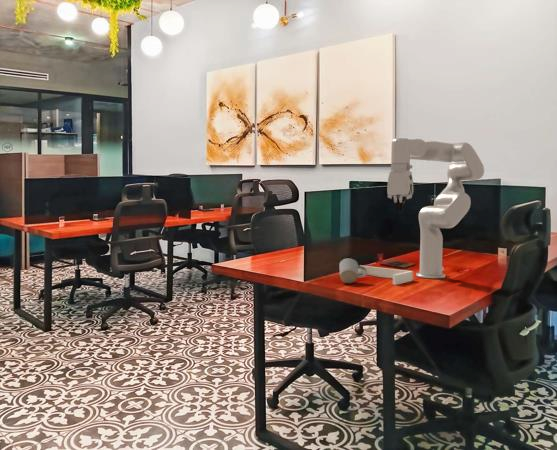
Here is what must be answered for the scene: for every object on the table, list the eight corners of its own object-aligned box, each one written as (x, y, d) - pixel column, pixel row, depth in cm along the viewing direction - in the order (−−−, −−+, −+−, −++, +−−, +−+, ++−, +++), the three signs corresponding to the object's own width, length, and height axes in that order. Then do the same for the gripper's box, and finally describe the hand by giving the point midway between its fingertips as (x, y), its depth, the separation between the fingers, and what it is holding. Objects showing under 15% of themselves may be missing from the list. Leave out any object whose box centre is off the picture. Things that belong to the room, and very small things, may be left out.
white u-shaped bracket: (359, 274, 234) (360, 265, 234) (413, 280, 216) (413, 271, 216) (340, 277, 222) (340, 268, 222) (395, 285, 205) (395, 275, 205)
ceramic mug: (344, 286, 208) (336, 273, 205) (343, 274, 215) (336, 260, 212) (368, 279, 205) (361, 265, 201) (367, 266, 212) (360, 252, 208)
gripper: (421, 168, 210) (419, 212, 211) (388, 169, 220) (387, 211, 221) (412, 167, 205) (411, 212, 206) (379, 168, 215) (379, 211, 216)
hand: (399, 212), depth 213 cm, fingers closed
